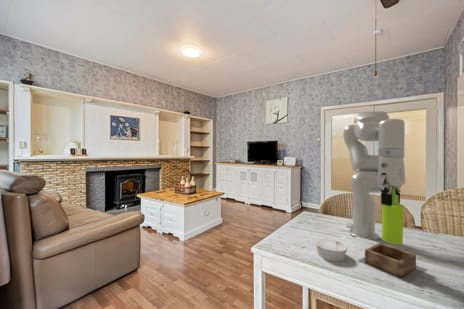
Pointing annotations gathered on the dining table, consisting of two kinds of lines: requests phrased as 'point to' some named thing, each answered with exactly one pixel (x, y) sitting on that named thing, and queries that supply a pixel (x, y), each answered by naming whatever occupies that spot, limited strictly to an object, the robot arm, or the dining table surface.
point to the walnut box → (390, 260)
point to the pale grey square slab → (407, 278)
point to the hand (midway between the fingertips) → (390, 203)
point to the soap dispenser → (392, 220)
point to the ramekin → (331, 249)
